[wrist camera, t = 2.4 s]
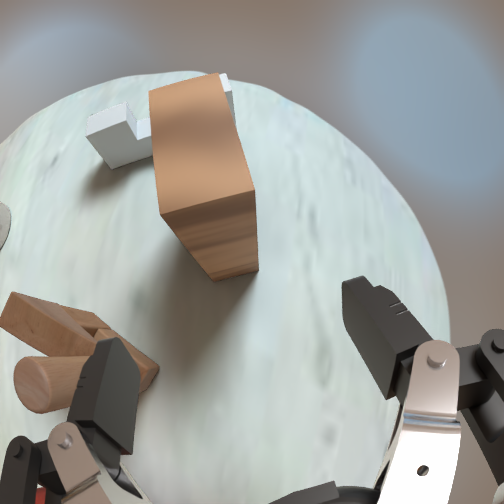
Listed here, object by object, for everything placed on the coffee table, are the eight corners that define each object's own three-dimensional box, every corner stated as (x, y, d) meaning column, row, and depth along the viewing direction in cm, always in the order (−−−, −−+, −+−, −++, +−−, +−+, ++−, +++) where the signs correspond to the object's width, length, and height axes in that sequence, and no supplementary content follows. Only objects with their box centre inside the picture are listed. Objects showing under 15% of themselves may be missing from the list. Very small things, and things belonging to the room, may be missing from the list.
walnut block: (258, 270, 32) (254, 189, 15) (213, 281, 32) (160, 214, 15) (237, 190, 35) (218, 72, 18) (196, 201, 35) (148, 91, 18)
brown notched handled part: (92, 311, 31) (-21, 279, 14) (161, 366, 29) (60, 385, 12) (79, 335, 30) (-36, 319, 13) (146, 391, 29) (41, 428, 11)
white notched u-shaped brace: (111, 169, 37) (85, 136, 29) (111, 150, 38) (87, 116, 30) (236, 132, 37) (231, 90, 30) (231, 115, 38) (225, 73, 31)
